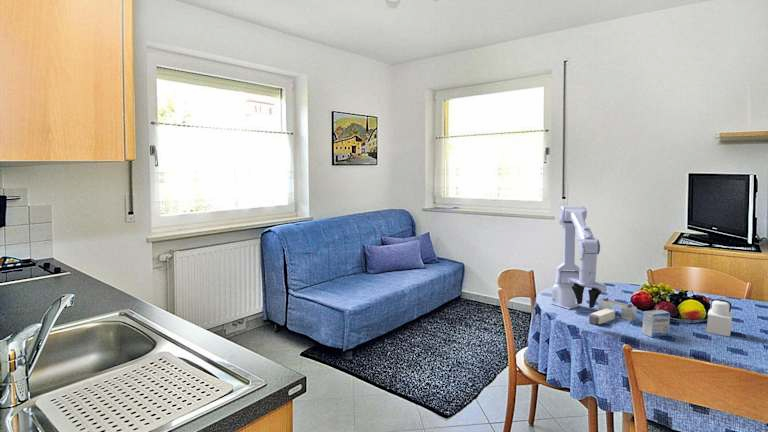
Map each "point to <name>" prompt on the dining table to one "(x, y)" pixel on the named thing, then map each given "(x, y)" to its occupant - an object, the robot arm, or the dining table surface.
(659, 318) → the medicine box
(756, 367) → the dining table surface
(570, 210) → the robot arm
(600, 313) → the cream rectangular bar
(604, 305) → the bearing block
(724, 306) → the medicine bottle
